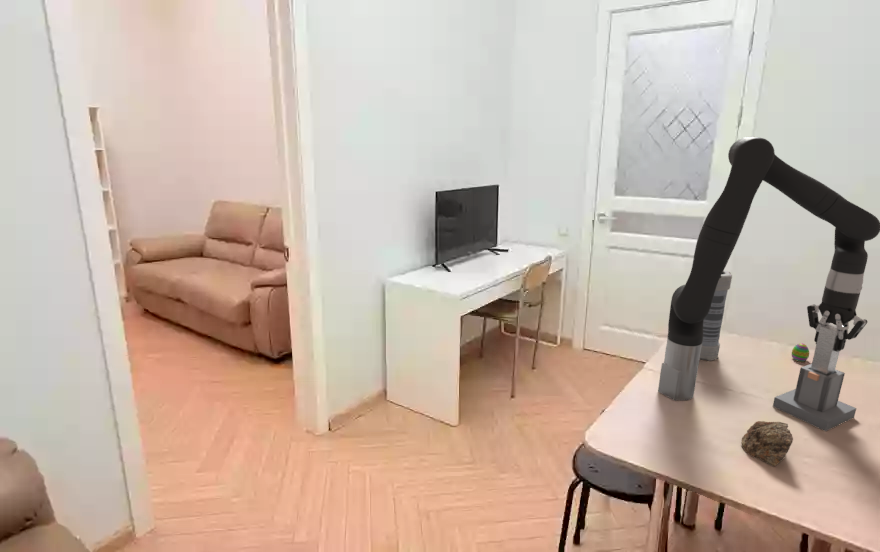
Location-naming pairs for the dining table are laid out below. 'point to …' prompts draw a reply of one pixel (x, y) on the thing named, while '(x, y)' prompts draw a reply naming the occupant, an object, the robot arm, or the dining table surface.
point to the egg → (800, 352)
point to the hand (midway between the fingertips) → (828, 347)
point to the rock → (768, 441)
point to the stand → (816, 399)
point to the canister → (715, 319)
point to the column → (826, 351)
